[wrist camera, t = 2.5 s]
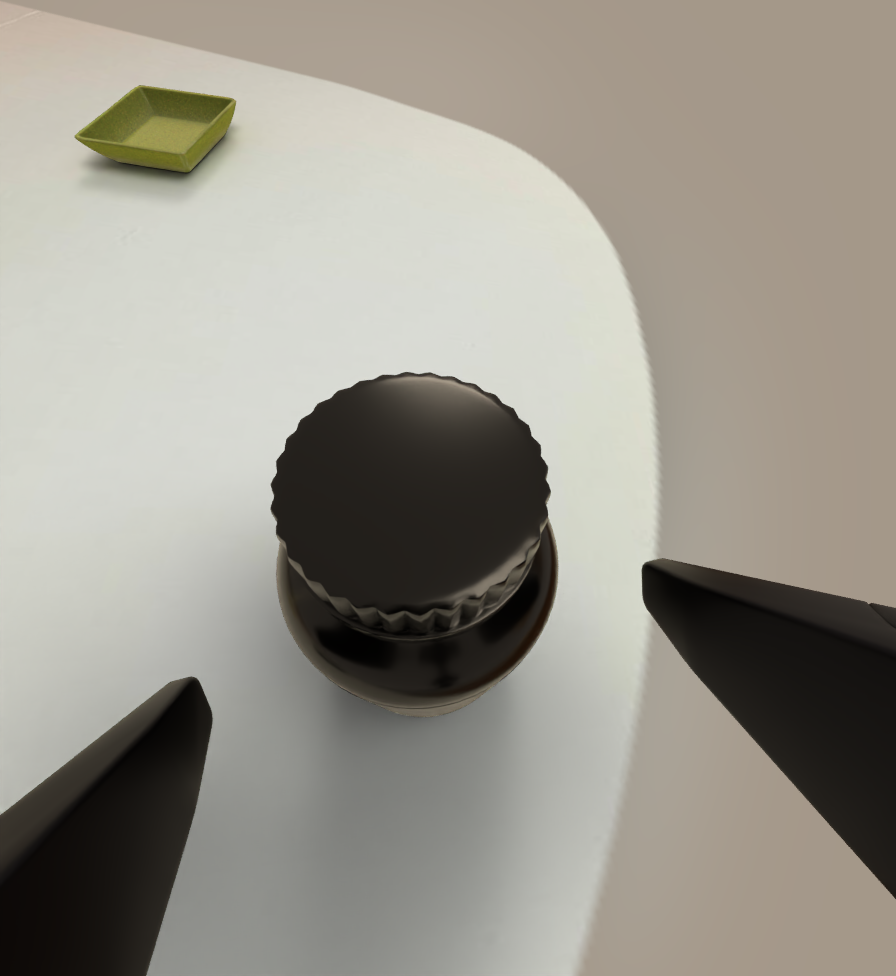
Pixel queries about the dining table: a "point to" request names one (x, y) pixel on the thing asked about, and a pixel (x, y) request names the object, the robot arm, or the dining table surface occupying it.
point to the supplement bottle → (414, 541)
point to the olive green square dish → (160, 128)
